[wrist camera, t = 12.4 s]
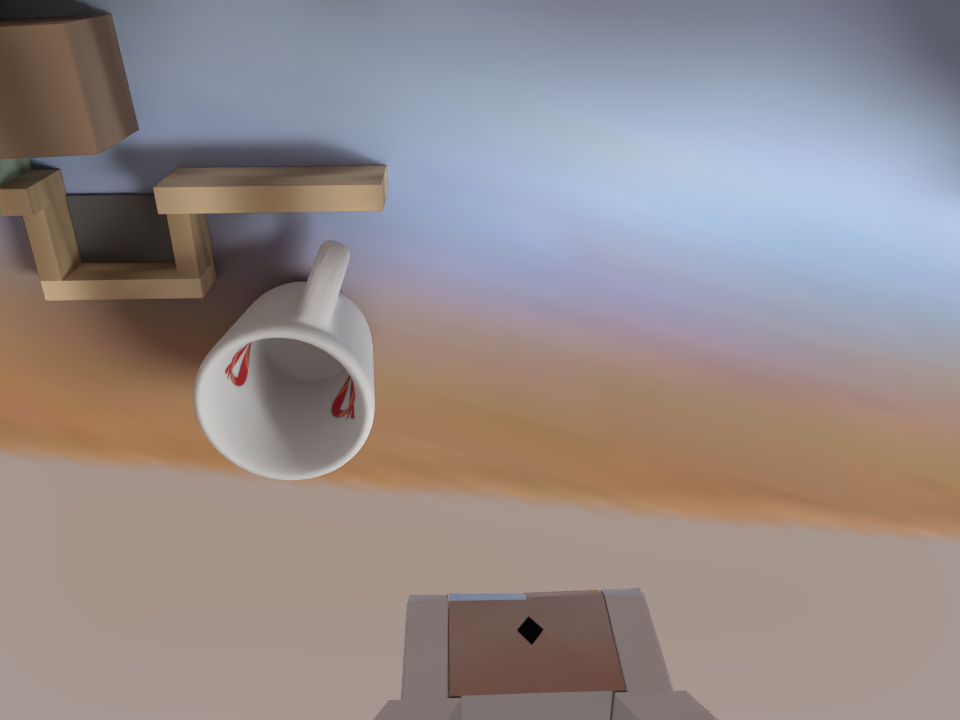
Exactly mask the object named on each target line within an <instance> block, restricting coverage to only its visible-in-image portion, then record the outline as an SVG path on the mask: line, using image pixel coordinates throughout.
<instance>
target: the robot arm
mask: <svg viewBox="0 0 960 720" xmlns="http://www.w3.org/2000/svg"><path fill="white" fill-rule="evenodd" d="M373 720H718V719H717V718H716V717H715V716H714V715H713V714H712V713H710V712H709V711H708V710H707V709H706V708H705V707H704V706H703V705H701V704H700V703H699V702H698V701H697V700H695V698H693V697H692V696H691V695H690V694H689V693H688V692H687V691H674V690H673V687H672V684H671V680H670V677H669V674H668V670H667V667H666V664H665V661H664V658H663V654H662V651H661V648H660V644H659V641H658V638H657V635H656V631H655V628H654V625H653V622H652V619H651V616H650V612H649V609H648V606H647V602H646V599H645V596H644V593H643V592H642V591H641V590H640V589H639V588H630V589H607V590H606V589H605V590H601V591H599V590H587V591H563V592H562V591H561V592H534V593H502V594H501V593H493V594H492V593H489V594H488V593H481V594H449V601H448V595H409V598H408V602H407V610H406V627H405V642H404V659H403V674H402V690H401V700H389V701H388V702H387V703H386V705H385V706H384V707H383V708H382V710H381V711H380V712H379V713H378V714H377V716H376V717H375V718H374V719H373Z"/></svg>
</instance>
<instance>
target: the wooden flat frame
mask: <svg viewBox="0 0 960 720" xmlns="http://www.w3.org/2000/svg"><path fill="white" fill-rule="evenodd" d="M153 190H154V194H110V195H67V194H66V190H65V186H64V182H63V178H62V174H61V170H60V169H39V170H33V169H32V165H31V161H30V158H19V159H1V160H0V216H23V219H24V223H25V226H26V230H27V234H28V237H29V241H30V245H31V248H32V252H33V256H34V259H35V263H36V267H37V270H38V274H39V278H40V281H41V285H42V289H43V292H44V296H45V300H46V301H50V300H112V299H173V298H204V296H205V295H206V293H207V292H208V290H209V289H210V288H211V286H212V285H213V283H214V282H215V280H216V273H215V267H214V261H213V255H212V249H211V243H210V237H209V231H208V224H207V218H206V213H276V212H352V211H383V208H384V204H385V200H386V196H387V192H388V181H387V166H300V167H213V168H176V169H175V170H174V171H173V172H171V173H170V174H169V175H168V176H167V177H165V178H164V179H163V180H162V181H160V182H159V183H158V184H157V185H156V186H154V187H153Z"/></svg>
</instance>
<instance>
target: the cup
mask: <svg viewBox="0 0 960 720" xmlns="http://www.w3.org/2000/svg"><path fill="white" fill-rule="evenodd" d="M349 259H350V249H349V248H348V247H347V246H346V245H343V244H341V243H339V242H335V241H329V240H328V241H325V242H324V243H323V244H322V245H321V247H320V249H319V251H318V253H317V256H316V258H315V261H314V263H313V266H312V269H311V271H310V274H309V277H308V280H307V282H293V283H287V284H283V285H280V286H278V287H275V288H273V289H271V290H270V291H268V292H266V293H265V294H263V295H262V296H260V297H259V298H258V299H257V300H256V301H255V302H254V303H253V304H252V305H251V306H250V307H249V308H248V309H247V310H246V311H245V312H244V313H243V315H242V316H241V317H240V318H239V319H238V320H237V321H236V322H235V324H234V325H233V326H232V327H231V328H230V329H229V330H228V331H227V332H226V334H225V335H224V336H223V337H222V338H221V339H220V340H219V341H218V343H217V344H216V345H215V346H214V347H213V348H212V349H211V350H210V352H209V353H208V354H207V356H206V357H205V359H204V360H203V362H202V364H201V366H200V368H199V370H198V373H197V376H196V379H195V384H194V393H193V396H194V407H195V413H196V416H197V419H198V422H199V424H200V427H201V429H202V430H203V432H204V434H205V435H206V437H207V438H208V440H209V441H210V442H211V444H212V445H213V446H214V447H215V448H216V449H217V450H218V451H219V452H220V453H221V454H222V455H223V456H224V457H226V458H227V459H228V460H230V461H231V462H233V463H234V464H236V465H237V466H239V467H241V468H243V469H245V470H247V471H250V472H252V473H255V474H257V475H261V476H264V477H268V478H274V479H281V480H301V479H309V478H314V477H317V476H321V475H324V474H327V473H329V472H331V471H333V470H335V469H337V468H339V467H340V466H342V465H343V464H345V463H346V462H347V461H349V460H350V459H351V458H352V457H353V456H354V455H355V454H356V453H357V452H358V451H359V450H360V448H361V447H362V446H363V444H364V442H365V441H366V439H367V437H368V435H369V433H370V430H371V427H372V424H373V419H374V411H375V399H374V371H373V347H372V338H371V333H370V330H369V327H368V324H367V322H366V320H365V318H364V316H363V314H362V313H361V311H360V310H359V308H358V307H357V306H356V305H355V304H354V303H353V302H352V301H351V300H350V299H349V298H348V297H347V296H345V295H344V294H342V293H341V292H340V289H341V285H342V282H343V279H344V276H345V273H346V269H347V266H348V262H349Z"/></svg>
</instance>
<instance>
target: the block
mask: <svg viewBox="0 0 960 720" xmlns="http://www.w3.org/2000/svg"><path fill="white" fill-rule="evenodd" d="M138 130H139V128H138V124H137V120H136V116H135V112H134V107H133V103H132V99H131V95H130V91H129V86H128V82H127V78H126V74H125V70H124V65H123V61H122V57H121V53H120V49H119V44H118V40H117V36H116V32H115V28H114V23H113V19H112V15H111V14H100V15H81V16H63V17H44V18H25V19H6V20H0V160H1V159H19V158H38V157H56V156H74V155H92V154H99V153H101V152H103V151H104V150H106V149H108V148H109V147H111V146H113V145H114V144H116V143H118V142H119V141H121V140H123V139H124V138H126V137H128V136H129V135H131V134H133V133H134V132H136V131H138Z"/></svg>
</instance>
